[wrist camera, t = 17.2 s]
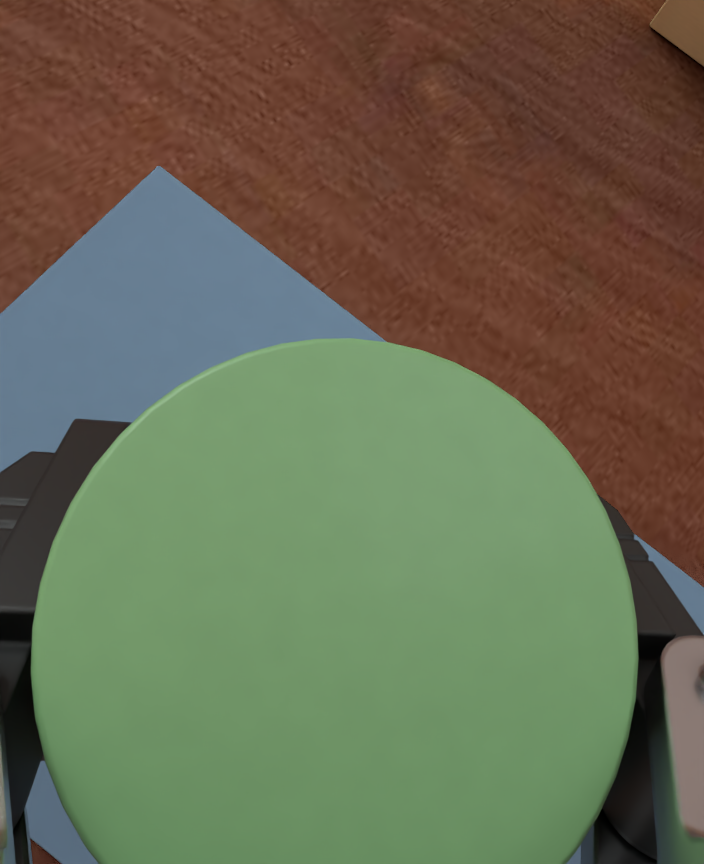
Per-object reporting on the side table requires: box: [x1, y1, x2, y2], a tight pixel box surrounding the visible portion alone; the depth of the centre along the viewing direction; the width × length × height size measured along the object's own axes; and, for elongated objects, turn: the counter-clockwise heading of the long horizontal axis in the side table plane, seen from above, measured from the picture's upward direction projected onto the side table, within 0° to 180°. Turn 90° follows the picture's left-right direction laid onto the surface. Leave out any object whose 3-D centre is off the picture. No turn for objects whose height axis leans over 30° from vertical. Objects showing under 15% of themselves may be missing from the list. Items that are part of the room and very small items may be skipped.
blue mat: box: [0, 166, 704, 864], centre depth 16 cm, size 20×14×1 cm
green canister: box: [31, 338, 639, 864], centre depth 10 cm, size 5×5×9 cm
